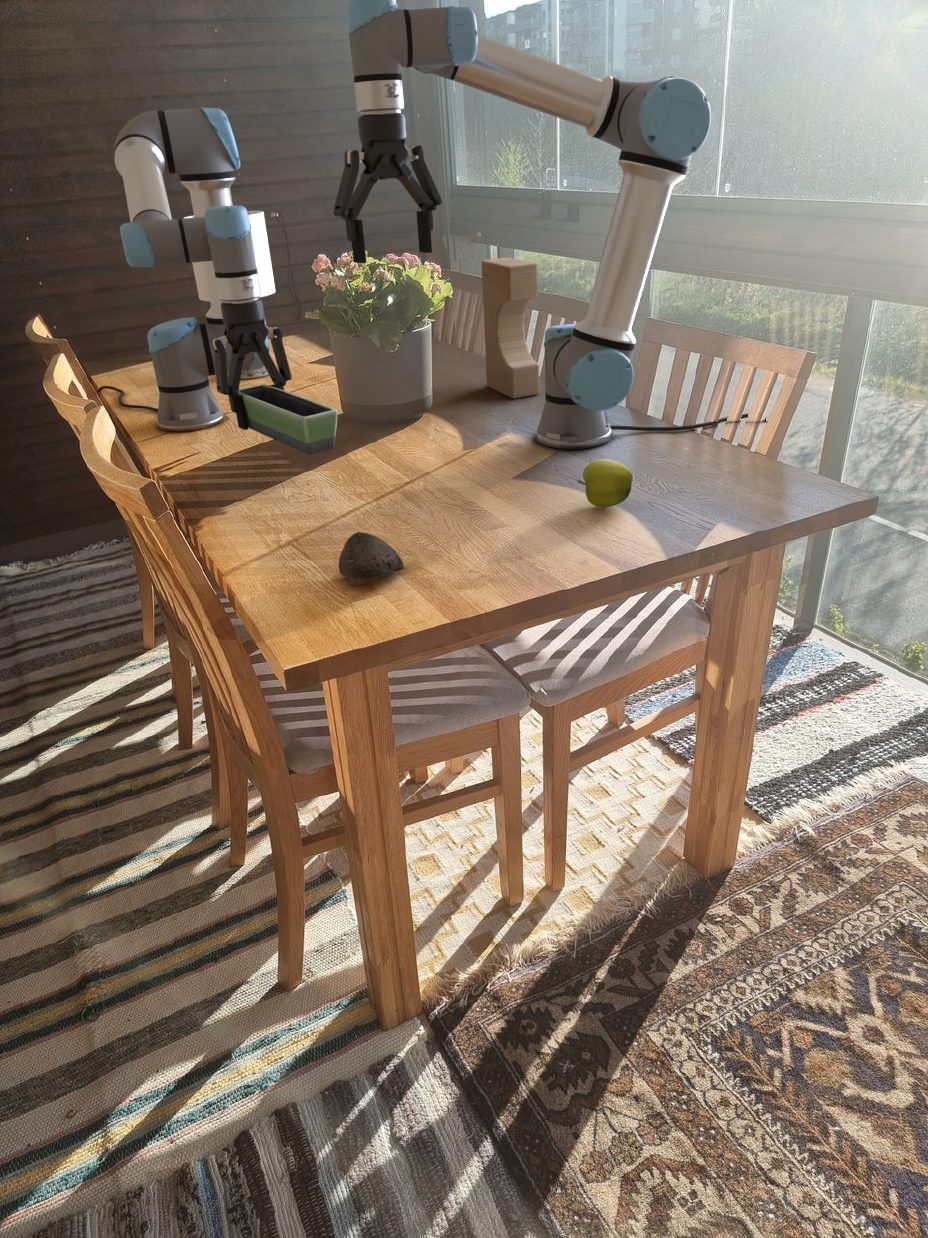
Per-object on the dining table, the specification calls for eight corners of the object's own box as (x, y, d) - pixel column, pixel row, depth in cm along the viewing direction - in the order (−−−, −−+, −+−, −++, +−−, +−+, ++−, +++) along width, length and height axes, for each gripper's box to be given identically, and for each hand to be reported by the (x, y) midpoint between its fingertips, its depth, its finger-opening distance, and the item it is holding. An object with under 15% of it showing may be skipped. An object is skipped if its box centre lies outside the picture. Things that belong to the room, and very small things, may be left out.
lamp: (301, 366, 256) (278, 209, 236) (258, 384, 240) (230, 217, 220) (244, 363, 264) (217, 211, 244) (199, 380, 248) (166, 219, 228)
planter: (237, 427, 172) (231, 390, 168) (270, 419, 176) (265, 382, 172) (308, 459, 153) (302, 418, 149) (344, 449, 156) (339, 409, 153)
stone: (370, 582, 138) (319, 551, 133) (405, 543, 136) (354, 511, 130) (380, 619, 131) (327, 588, 125) (417, 579, 128) (364, 545, 123)
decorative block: (540, 394, 215) (538, 263, 201) (512, 399, 213) (508, 266, 198) (512, 381, 227) (509, 256, 213) (486, 386, 225) (480, 260, 210)
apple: (575, 498, 154) (576, 454, 151) (628, 496, 154) (629, 451, 150) (579, 515, 148) (579, 469, 144) (634, 513, 147) (636, 467, 143)
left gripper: (197, 310, 152) (222, 439, 163) (299, 293, 163) (316, 415, 174) (180, 306, 157) (205, 431, 168) (280, 289, 168) (297, 408, 179)
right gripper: (325, 115, 130) (343, 268, 141) (457, 108, 143) (464, 249, 154) (300, 117, 135) (319, 265, 146) (429, 111, 149) (438, 247, 159)
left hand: (261, 423), depth 171 cm, fingers closed on planter, 7 cm apart
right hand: (393, 257), depth 150 cm, fingers open, 13 cm apart
